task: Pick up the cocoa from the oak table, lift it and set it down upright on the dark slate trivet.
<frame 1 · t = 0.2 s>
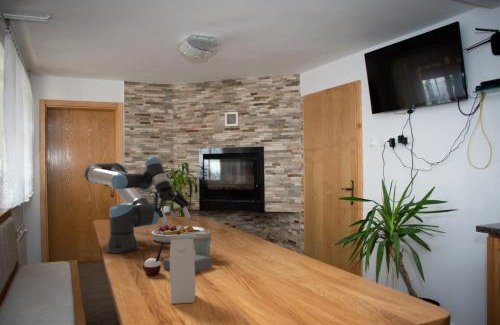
hand: (177, 220, 186), 16 cm above the table, tool tilted 35°, fingers open, 13 cm apart
trivet: (187, 268, 159), on the table
coffee cup: (202, 259, 174), on the table
milk carton: (183, 300, 122), on the table
bowl: (178, 239, 223), on the table
cocoa: (153, 275, 151), on the table
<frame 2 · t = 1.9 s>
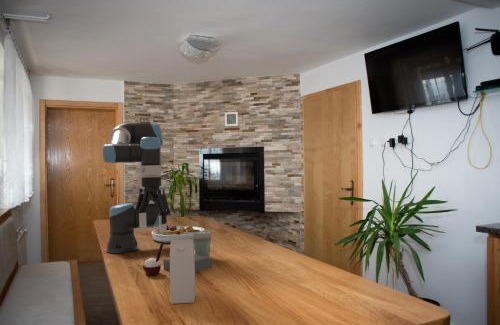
hand: (152, 230, 151), 17 cm above the table, tool pointing down, fingers open, 13 cm apart
nothing on the table moved.
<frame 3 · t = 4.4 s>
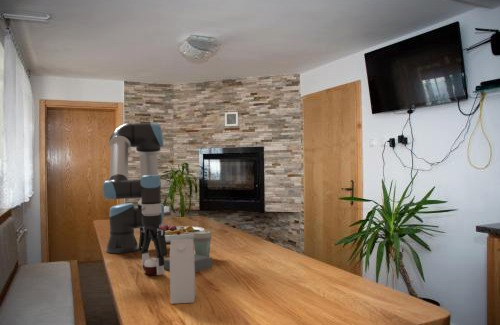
hand: (153, 271, 151), 1 cm above the table, tool pointing down, fingers closed on cocoa, 9 cm apart
cocoa: (153, 274, 151), on the table, touching gripper
everything else where it was.
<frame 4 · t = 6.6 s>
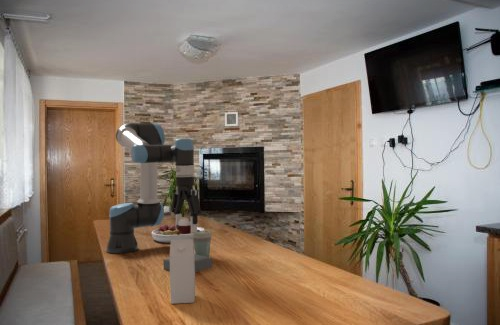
hand: (186, 230, 158), 15 cm above the table, tool pointing down, fingers closed on cocoa, 9 cm apart
cocoa: (186, 233, 158), point 14 cm above the table, touching gripper
everything else where it was.
when the fingers open (6 cm above the table, at t = 9.1 s): cocoa drops 1 cm, resting on trivet.
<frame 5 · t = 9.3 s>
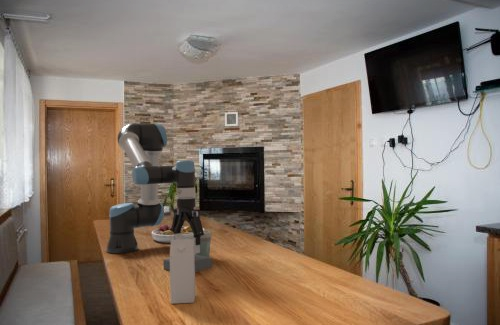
hand: (187, 251, 159), 7 cm above the table, tool pointing down, fingers open, 11 cm apart
cocoa: (187, 258, 158), point 4 cm above the table, touching trivet
everything else where it was.
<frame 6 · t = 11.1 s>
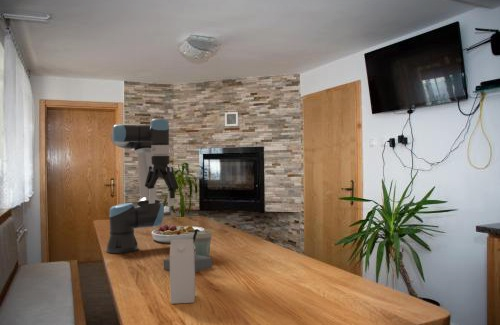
hand: (161, 204, 166), 26 cm above the table, tool pointing down, fingers open, 13 cm apart
nothing on the table moved.
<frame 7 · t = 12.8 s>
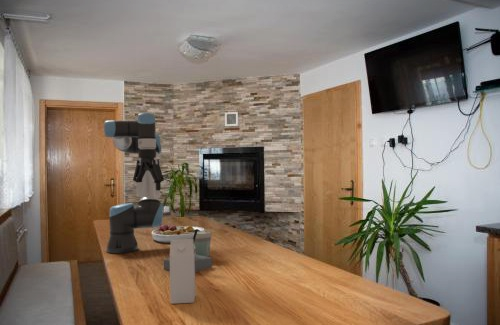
hand: (148, 197, 168), 29 cm above the table, tool pointing down, fingers open, 13 cm apart
nothing on the table moved.
at the end: cocoa inside the target area on the trivet (0.2 cm from its centre), point 4.0 cm above the trivet's base; cocoa tilted 0°; the gripper is holding nothing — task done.
